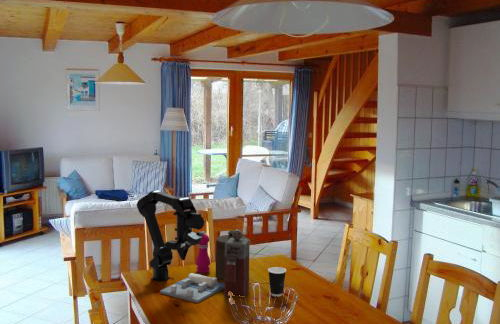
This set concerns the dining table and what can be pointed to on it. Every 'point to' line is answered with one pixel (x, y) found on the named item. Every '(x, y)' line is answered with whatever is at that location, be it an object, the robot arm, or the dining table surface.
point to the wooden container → (222, 254)
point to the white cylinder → (201, 279)
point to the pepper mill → (203, 255)
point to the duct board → (195, 292)
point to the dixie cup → (276, 280)
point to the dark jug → (237, 265)
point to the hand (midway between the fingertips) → (183, 260)
